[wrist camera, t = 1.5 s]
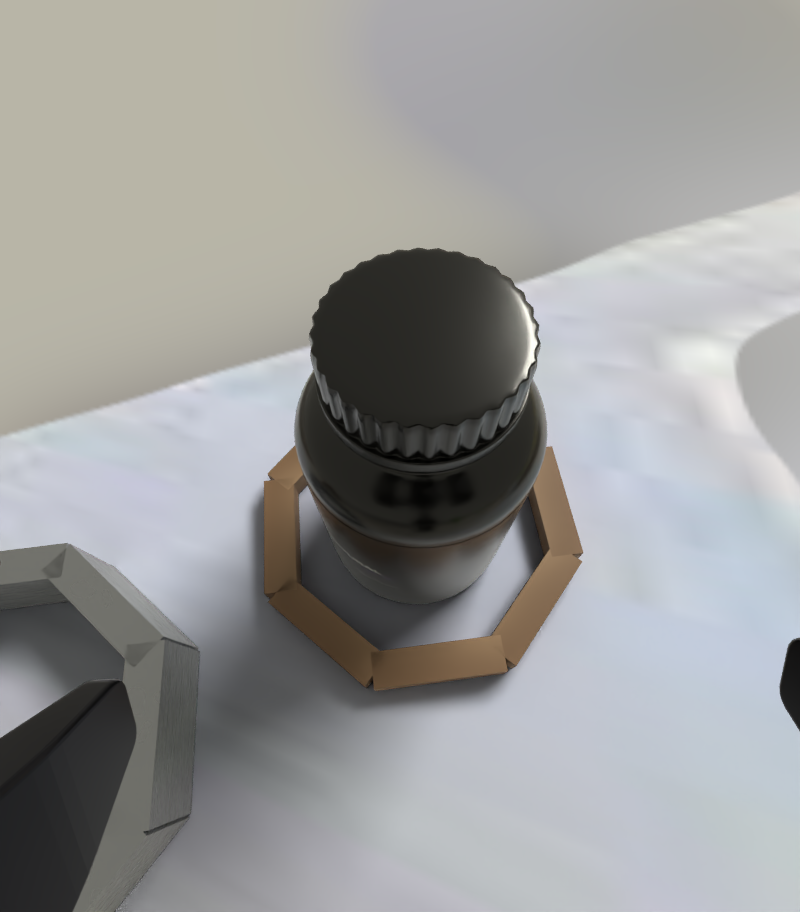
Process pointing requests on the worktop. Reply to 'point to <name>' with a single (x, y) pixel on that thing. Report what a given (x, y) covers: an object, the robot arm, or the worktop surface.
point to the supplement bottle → (421, 419)
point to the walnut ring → (433, 658)
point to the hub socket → (151, 697)
